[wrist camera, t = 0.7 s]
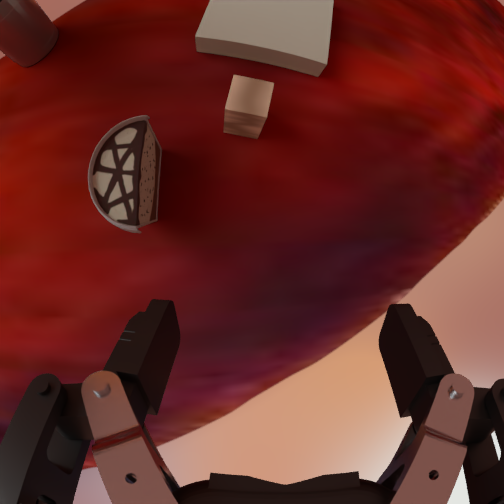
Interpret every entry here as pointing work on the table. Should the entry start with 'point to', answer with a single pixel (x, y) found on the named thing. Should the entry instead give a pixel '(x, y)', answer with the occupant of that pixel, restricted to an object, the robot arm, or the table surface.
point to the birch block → (247, 106)
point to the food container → (127, 174)
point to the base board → (269, 32)
